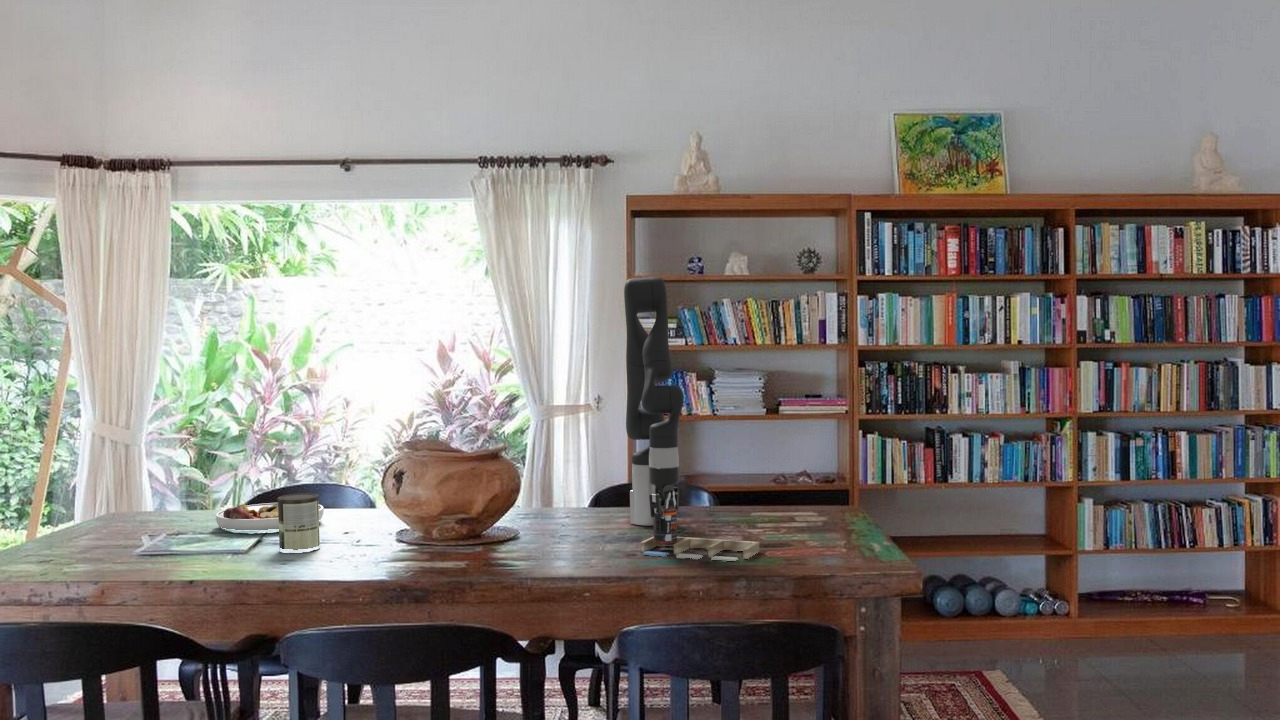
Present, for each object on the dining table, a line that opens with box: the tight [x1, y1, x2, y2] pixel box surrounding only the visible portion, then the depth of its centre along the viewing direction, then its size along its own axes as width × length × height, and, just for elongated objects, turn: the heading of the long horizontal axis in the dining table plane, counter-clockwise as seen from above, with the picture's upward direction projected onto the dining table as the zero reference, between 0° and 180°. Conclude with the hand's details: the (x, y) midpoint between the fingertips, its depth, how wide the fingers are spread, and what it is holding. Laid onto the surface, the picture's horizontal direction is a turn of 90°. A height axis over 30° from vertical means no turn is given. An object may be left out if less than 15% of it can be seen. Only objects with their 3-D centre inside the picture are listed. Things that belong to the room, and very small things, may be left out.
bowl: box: [215, 502, 325, 530], centre depth 319 cm, size 30×30×8 cm
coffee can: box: [277, 492, 321, 550], centre depth 283 cm, size 10×10×14 cm
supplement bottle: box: [653, 498, 678, 545], centre depth 273 cm, size 6×6×11 cm
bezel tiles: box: [642, 550, 739, 562], centre depth 263 cm, size 24×2×1 cm, turn 66°
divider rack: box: [639, 535, 760, 560], centre depth 270 cm, size 28×10×2 cm, turn 66°
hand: (665, 531), depth 273 cm, fingers closed on supplement bottle, 6 cm apart
